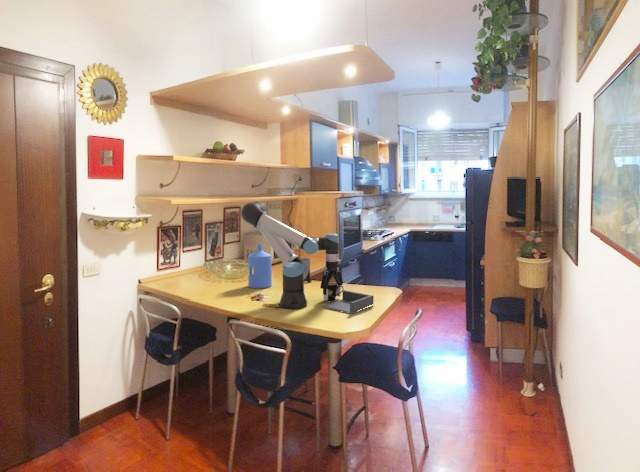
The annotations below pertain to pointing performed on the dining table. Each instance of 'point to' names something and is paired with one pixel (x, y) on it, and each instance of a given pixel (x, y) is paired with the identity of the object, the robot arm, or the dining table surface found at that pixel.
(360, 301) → the corner arena
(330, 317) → the dining table surface
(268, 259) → the water jug
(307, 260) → the milk frother
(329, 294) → the coffee mug
